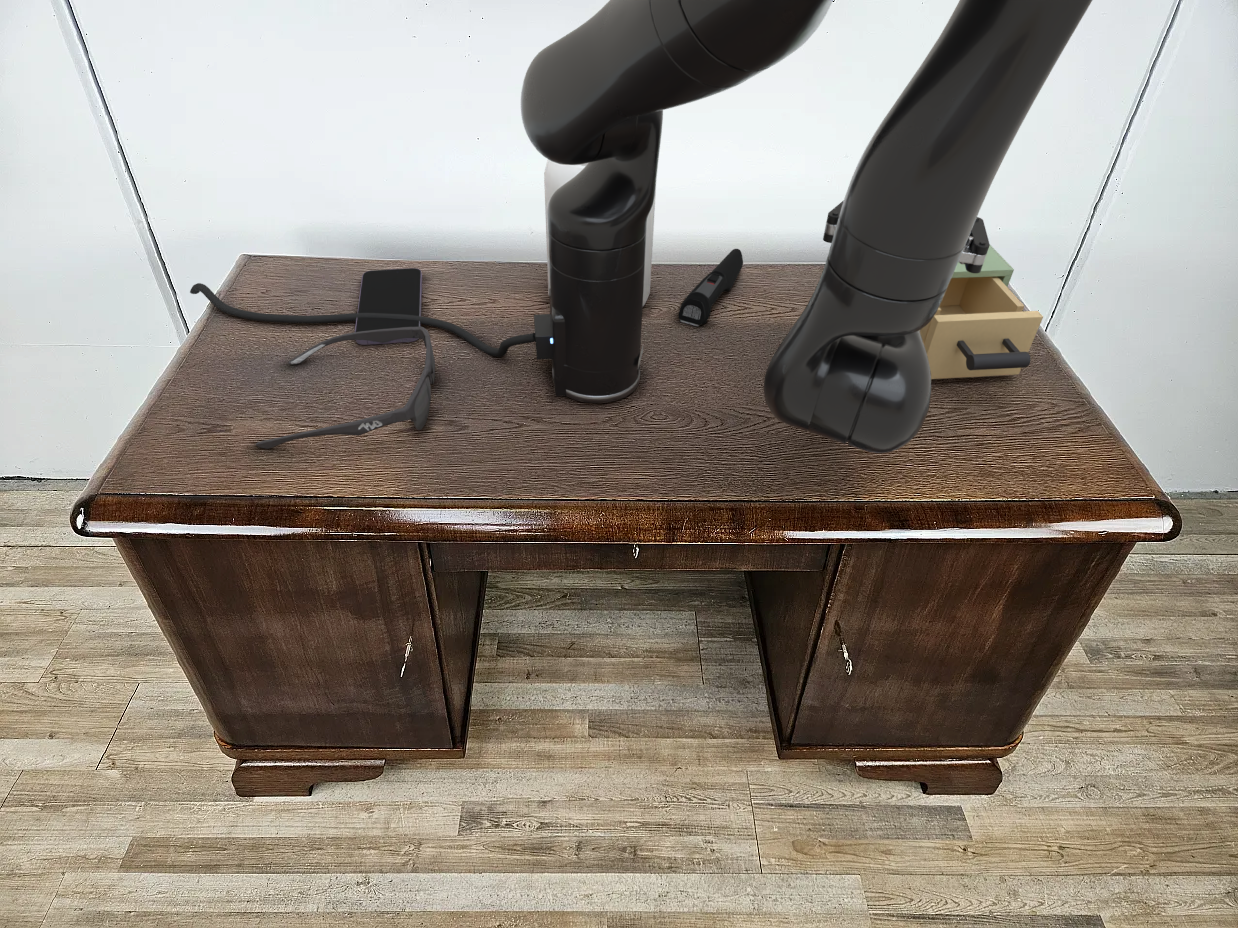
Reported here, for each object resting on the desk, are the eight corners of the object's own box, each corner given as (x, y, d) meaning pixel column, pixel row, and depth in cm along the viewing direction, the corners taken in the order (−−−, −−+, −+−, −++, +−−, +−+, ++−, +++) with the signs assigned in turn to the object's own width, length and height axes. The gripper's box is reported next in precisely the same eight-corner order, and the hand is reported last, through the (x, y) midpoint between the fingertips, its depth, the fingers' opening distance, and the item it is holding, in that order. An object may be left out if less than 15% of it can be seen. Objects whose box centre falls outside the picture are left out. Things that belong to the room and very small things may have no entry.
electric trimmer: (749, 273, 107) (752, 250, 105) (704, 328, 96) (707, 304, 94) (722, 266, 108) (724, 244, 106) (675, 320, 97) (676, 296, 95)
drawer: (1038, 398, 86) (1065, 339, 81) (934, 404, 85) (955, 345, 80) (965, 309, 99) (984, 254, 94) (874, 313, 98) (889, 257, 93)
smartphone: (353, 340, 91) (362, 270, 102) (354, 348, 92) (363, 278, 103) (419, 336, 92) (422, 267, 103) (421, 344, 93) (423, 275, 104)
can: (661, 317, 98) (672, 149, 84) (557, 328, 95) (552, 157, 82) (635, 267, 107) (642, 108, 93) (540, 276, 104) (533, 114, 91)
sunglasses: (433, 451, 79) (419, 410, 75) (260, 471, 79) (239, 431, 75) (447, 353, 91) (437, 314, 87) (298, 370, 91) (281, 332, 88)
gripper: (998, 254, 61) (1013, 174, 73) (809, 216, 65) (852, 146, 77) (967, 340, 66) (986, 252, 78) (793, 299, 70) (836, 221, 82)
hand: (919, 200), depth 77 cm, fingers closed on pill bottle, 5 cm apart
